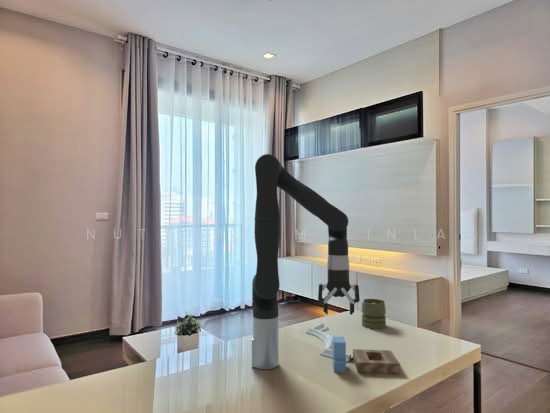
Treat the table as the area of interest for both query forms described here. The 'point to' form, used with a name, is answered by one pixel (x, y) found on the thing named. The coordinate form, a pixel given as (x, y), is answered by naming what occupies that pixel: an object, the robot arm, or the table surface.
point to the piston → (373, 314)
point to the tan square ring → (376, 361)
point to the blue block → (339, 354)
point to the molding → (325, 340)
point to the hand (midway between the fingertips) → (338, 313)
